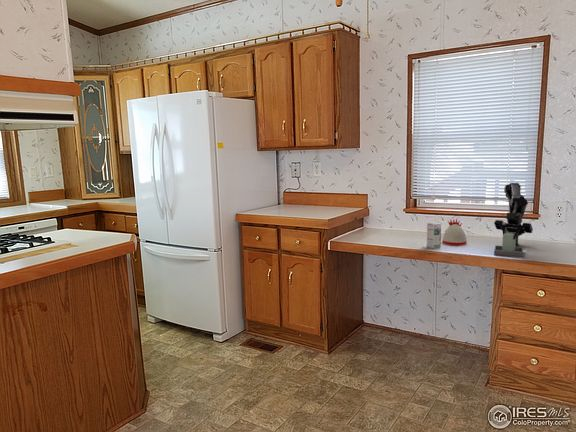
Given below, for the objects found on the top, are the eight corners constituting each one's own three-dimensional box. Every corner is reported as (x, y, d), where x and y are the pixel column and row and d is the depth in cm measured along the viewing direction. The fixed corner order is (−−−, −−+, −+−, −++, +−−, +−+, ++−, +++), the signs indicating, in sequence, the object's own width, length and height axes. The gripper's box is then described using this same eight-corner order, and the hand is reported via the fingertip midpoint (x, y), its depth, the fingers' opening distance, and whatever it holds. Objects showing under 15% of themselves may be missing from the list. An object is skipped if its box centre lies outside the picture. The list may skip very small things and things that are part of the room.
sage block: (502, 250, 246) (503, 234, 245) (505, 248, 249) (506, 232, 248) (511, 251, 242) (512, 235, 241) (515, 249, 246) (516, 233, 244)
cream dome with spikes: (442, 240, 284) (443, 216, 282) (466, 241, 280) (467, 217, 277) (442, 244, 271) (443, 220, 269) (466, 246, 267) (467, 221, 264)
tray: (494, 249, 255) (495, 245, 255) (522, 251, 249) (522, 247, 249) (494, 255, 243) (494, 250, 243) (523, 257, 237) (523, 252, 237)
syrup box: (433, 248, 262) (433, 223, 260) (426, 246, 267) (426, 222, 265) (440, 247, 264) (441, 223, 262) (433, 245, 269) (434, 221, 267)
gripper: (496, 205, 252) (487, 227, 246) (532, 208, 238) (523, 231, 233) (501, 217, 258) (492, 239, 253) (536, 221, 245) (527, 244, 239)
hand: (508, 238), depth 244 cm, fingers closed on sage block, 5 cm apart
